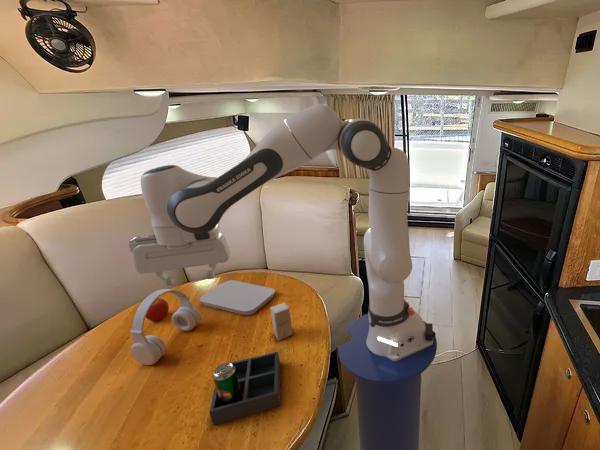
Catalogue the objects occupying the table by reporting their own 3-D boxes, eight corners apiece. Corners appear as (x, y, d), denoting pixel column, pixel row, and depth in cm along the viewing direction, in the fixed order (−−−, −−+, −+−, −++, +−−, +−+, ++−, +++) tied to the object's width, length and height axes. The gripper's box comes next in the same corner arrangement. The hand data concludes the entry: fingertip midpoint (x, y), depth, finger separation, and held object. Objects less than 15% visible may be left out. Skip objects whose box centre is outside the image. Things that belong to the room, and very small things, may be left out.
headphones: (158, 367, 94) (139, 315, 87) (133, 365, 95) (112, 312, 88) (205, 324, 113) (192, 278, 106) (184, 322, 114) (169, 276, 107)
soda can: (217, 410, 80) (206, 375, 76) (231, 393, 85) (222, 359, 80) (234, 414, 79) (224, 379, 75) (247, 397, 84) (239, 363, 79)
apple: (158, 325, 112) (152, 307, 109) (139, 323, 113) (133, 305, 110) (176, 312, 119) (170, 295, 116) (158, 310, 120) (152, 293, 117)
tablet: (229, 283, 138) (228, 279, 137) (278, 294, 131) (278, 289, 130) (197, 304, 124) (195, 299, 123) (250, 317, 116) (249, 312, 115)
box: (278, 341, 105) (273, 313, 101) (274, 334, 108) (269, 307, 104) (293, 334, 108) (289, 307, 104) (288, 327, 111) (284, 301, 107)
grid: (280, 363, 96) (277, 351, 94) (279, 406, 82) (277, 393, 81) (223, 376, 91) (220, 364, 89) (213, 425, 77) (209, 412, 76)
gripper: (120, 243, 71) (138, 294, 76) (221, 231, 77) (232, 280, 82) (131, 233, 76) (148, 281, 81) (225, 223, 83) (235, 269, 88)
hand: (191, 280), depth 82 cm, fingers open, 8 cm apart
